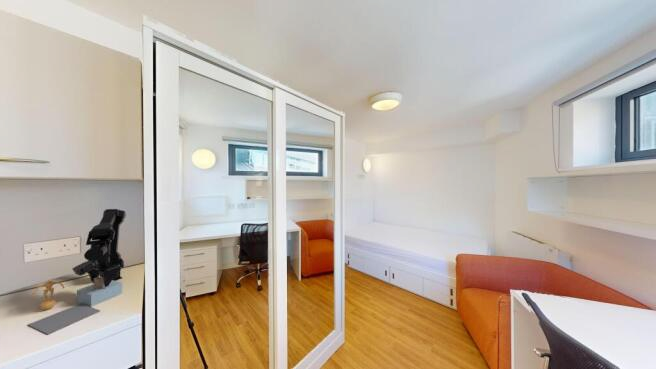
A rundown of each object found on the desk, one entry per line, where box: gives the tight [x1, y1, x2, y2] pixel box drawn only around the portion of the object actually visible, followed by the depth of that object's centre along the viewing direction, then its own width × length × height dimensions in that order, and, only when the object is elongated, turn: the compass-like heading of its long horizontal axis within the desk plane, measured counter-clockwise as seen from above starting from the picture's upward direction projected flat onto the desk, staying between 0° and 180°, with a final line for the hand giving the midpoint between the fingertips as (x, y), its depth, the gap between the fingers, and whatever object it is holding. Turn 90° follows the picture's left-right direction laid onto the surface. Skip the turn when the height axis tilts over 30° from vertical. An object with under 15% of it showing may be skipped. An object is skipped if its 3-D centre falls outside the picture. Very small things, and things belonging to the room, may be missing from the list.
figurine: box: [31, 280, 65, 311], centre depth 87 cm, size 8×6×12 cm
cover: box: [75, 276, 123, 308], centre depth 96 cm, size 11×11×10 cm
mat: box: [27, 303, 101, 336], centre depth 82 cm, size 14×14×1 cm
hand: (100, 284), depth 96 cm, fingers open, 9 cm apart
